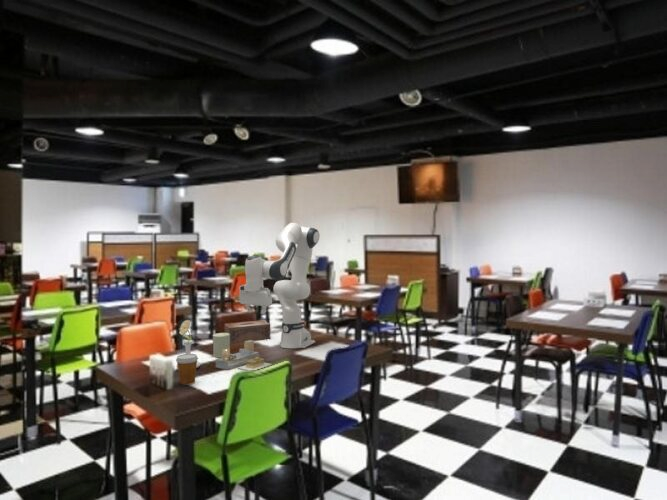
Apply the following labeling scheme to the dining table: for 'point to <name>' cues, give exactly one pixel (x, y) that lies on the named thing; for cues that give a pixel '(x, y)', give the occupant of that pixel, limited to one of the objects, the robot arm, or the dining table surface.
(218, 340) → the can
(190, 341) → the flower in vase
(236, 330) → the tissue box cover
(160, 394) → the dining table surface
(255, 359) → the lever cap
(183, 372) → the disposable coffee cup
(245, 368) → the mat
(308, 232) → the robot arm
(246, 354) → the hand plane
